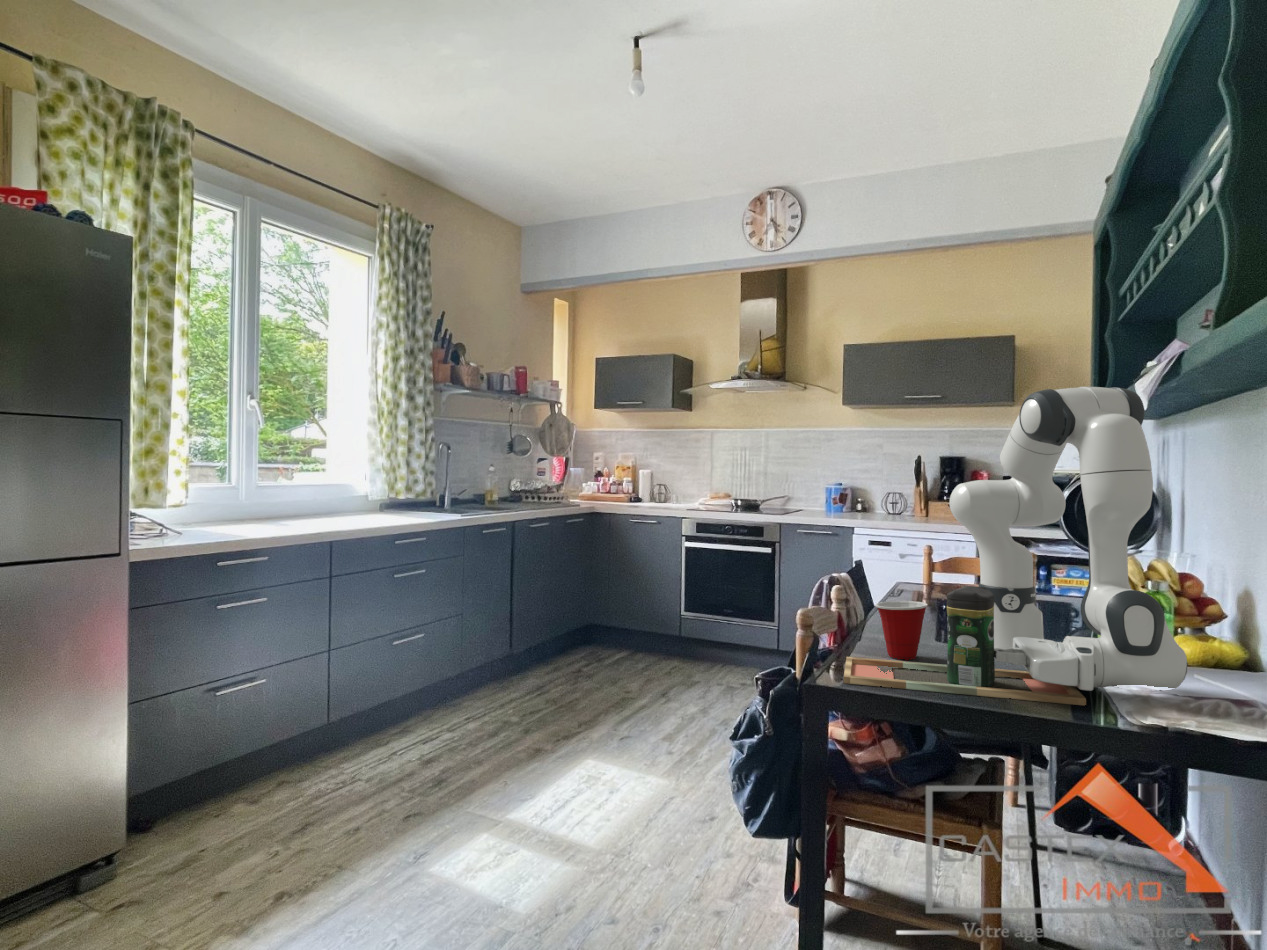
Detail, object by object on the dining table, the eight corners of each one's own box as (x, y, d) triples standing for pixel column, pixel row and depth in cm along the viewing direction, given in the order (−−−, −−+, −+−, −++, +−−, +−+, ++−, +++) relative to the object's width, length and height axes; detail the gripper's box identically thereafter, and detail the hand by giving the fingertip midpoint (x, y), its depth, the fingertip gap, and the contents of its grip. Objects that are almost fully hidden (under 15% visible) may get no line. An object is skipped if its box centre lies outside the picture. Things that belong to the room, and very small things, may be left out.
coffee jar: (954, 674, 142) (954, 582, 142) (998, 681, 137) (998, 585, 137) (941, 685, 135) (941, 587, 135) (987, 693, 130) (987, 592, 130)
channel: (846, 662, 151) (846, 656, 151) (1062, 680, 138) (1062, 674, 138) (843, 683, 136) (843, 676, 136) (1086, 705, 123) (1086, 698, 123)
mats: (852, 665, 149) (852, 664, 149) (1057, 682, 137) (1057, 681, 137) (850, 681, 137) (850, 680, 137) (1075, 701, 125) (1075, 700, 125)
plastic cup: (886, 648, 164) (886, 596, 164) (934, 656, 157) (934, 602, 157) (867, 657, 155) (867, 602, 156) (917, 666, 148) (917, 608, 148)
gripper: (1063, 632, 140) (986, 627, 145) (1094, 657, 121) (1004, 650, 125) (1063, 663, 140) (986, 657, 145) (1094, 694, 121) (1004, 686, 125)
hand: (994, 654), depth 135 cm, fingers closed
